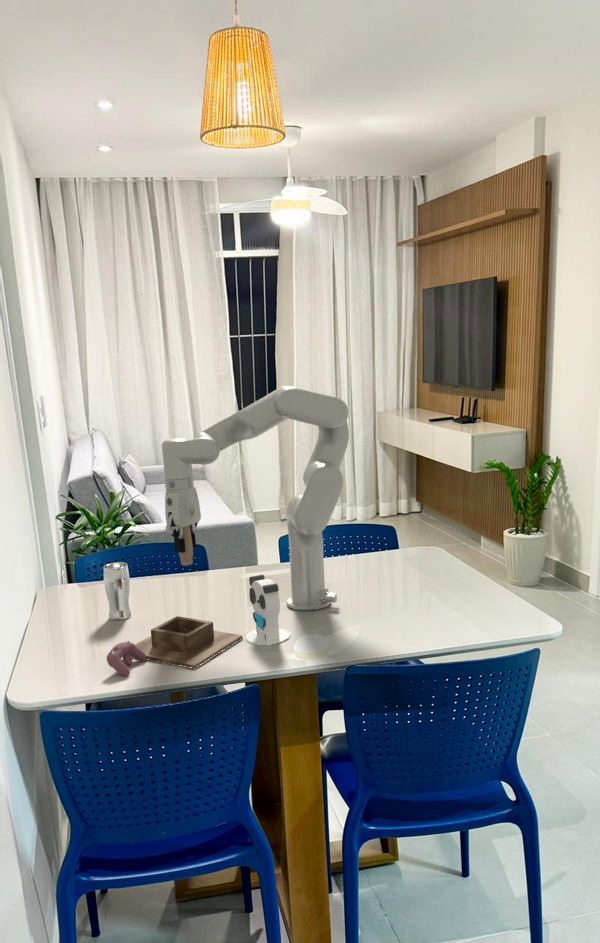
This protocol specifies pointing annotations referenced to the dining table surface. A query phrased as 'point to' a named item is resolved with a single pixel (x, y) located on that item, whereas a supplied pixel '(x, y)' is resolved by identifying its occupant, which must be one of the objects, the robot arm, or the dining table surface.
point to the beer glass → (117, 590)
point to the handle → (187, 546)
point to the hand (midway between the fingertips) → (185, 549)
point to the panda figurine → (265, 612)
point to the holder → (185, 642)
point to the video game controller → (124, 657)
